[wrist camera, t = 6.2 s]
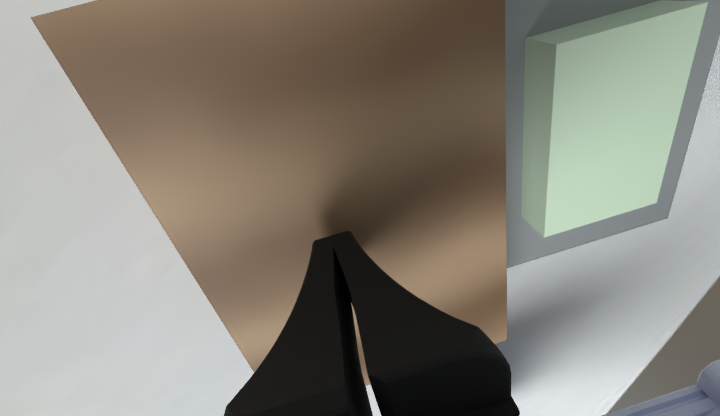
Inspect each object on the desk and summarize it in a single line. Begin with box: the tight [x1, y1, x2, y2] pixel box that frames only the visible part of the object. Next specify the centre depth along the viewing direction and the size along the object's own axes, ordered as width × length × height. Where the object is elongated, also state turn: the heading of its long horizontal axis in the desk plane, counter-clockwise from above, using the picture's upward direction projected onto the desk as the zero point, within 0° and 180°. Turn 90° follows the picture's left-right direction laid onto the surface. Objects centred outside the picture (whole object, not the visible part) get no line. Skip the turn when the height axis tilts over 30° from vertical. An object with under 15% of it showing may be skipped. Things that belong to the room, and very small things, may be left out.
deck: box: [31, 0, 507, 386], centre depth 16 cm, size 18×12×4 cm, turn 12°
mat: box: [505, 0, 720, 268], centre depth 18 cm, size 16×12×1 cm
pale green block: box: [521, 0, 708, 238], centre depth 17 cm, size 9×6×2 cm, turn 12°
